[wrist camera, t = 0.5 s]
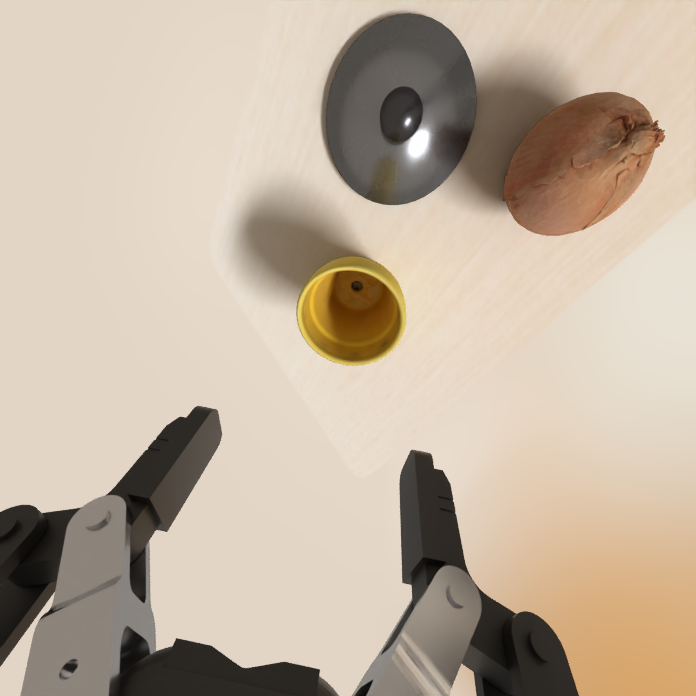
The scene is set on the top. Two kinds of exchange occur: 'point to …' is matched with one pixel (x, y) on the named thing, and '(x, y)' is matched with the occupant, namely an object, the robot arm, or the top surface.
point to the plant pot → (352, 311)
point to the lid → (401, 109)
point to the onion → (580, 163)
